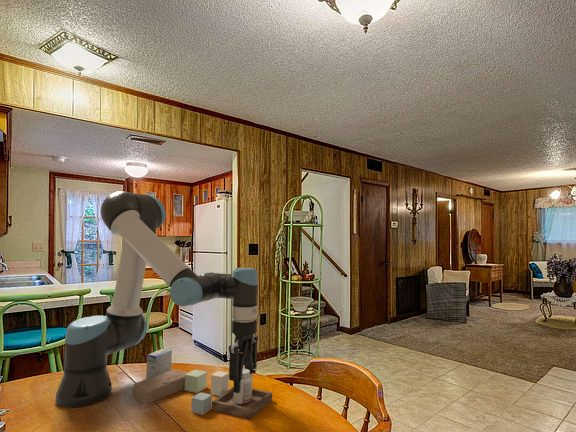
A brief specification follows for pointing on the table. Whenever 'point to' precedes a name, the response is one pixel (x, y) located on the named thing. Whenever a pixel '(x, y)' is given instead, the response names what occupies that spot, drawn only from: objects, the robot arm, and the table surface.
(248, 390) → the pill bottle
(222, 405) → the tray
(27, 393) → the table surface
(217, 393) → the cream block
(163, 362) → the medicine box
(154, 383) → the brick
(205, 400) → the blue-grey block
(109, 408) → the table surface
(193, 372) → the sage block
